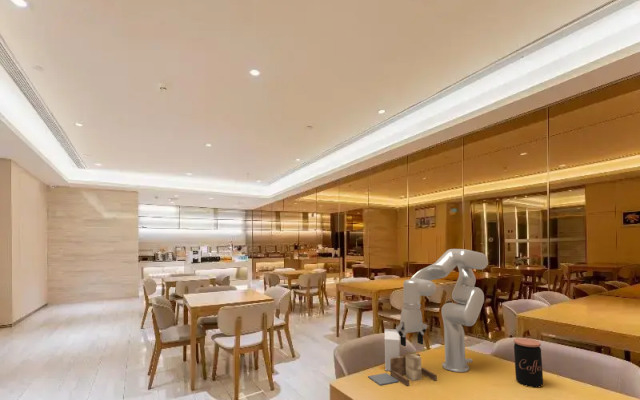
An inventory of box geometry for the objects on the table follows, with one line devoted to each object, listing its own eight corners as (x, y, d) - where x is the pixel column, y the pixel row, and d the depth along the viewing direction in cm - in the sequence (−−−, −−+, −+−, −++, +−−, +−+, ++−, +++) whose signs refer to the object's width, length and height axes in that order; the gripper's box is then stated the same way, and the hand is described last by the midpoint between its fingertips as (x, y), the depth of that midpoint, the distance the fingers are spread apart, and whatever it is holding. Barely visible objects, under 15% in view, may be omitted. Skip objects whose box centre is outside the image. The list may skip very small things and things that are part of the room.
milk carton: (400, 372, 168) (399, 331, 171) (385, 370, 170) (384, 330, 172) (399, 366, 175) (398, 327, 178) (385, 365, 177) (384, 327, 179)
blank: (414, 375, 164) (414, 353, 165) (421, 379, 159) (421, 356, 160) (405, 377, 162) (405, 355, 163) (412, 381, 157) (412, 358, 158)
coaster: (386, 374, 165) (386, 373, 165) (398, 382, 156) (398, 380, 156) (368, 377, 161) (368, 376, 162) (379, 385, 152) (379, 384, 152)
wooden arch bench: (418, 371, 170) (418, 353, 171) (436, 380, 158) (436, 362, 159) (390, 375, 163) (390, 358, 164) (407, 386, 152) (406, 367, 153)
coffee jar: (518, 385, 153) (515, 343, 155) (513, 377, 163) (511, 337, 165) (546, 389, 149) (543, 346, 151) (540, 380, 159) (537, 339, 161)
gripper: (421, 304, 171) (421, 340, 169) (391, 306, 164) (391, 343, 162) (431, 307, 164) (432, 345, 162) (401, 309, 157) (401, 348, 155)
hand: (411, 344), depth 162 cm, fingers open, 9 cm apart
